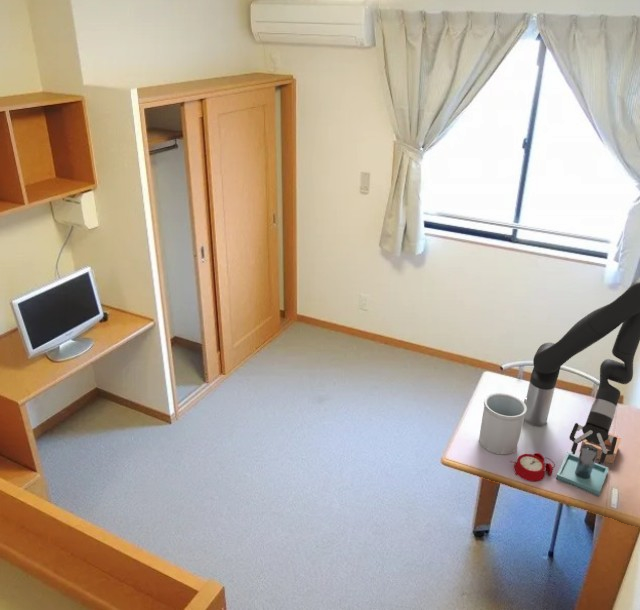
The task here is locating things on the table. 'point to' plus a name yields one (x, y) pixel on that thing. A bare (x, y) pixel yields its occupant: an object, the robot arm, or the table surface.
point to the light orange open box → (608, 457)
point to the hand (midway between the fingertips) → (586, 459)
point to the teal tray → (588, 485)
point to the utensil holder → (502, 423)
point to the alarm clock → (532, 467)
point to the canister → (586, 461)
